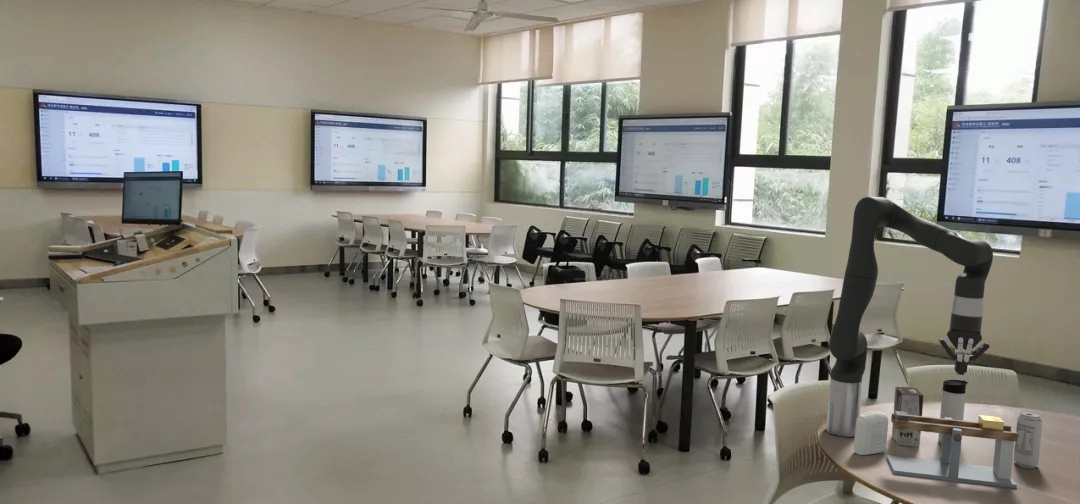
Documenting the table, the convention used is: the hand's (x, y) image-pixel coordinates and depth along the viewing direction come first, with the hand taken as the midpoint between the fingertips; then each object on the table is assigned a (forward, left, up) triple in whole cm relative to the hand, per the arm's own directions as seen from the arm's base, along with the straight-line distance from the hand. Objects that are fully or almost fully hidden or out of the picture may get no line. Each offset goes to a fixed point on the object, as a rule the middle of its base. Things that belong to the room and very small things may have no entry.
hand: (960, 374), depth 215 cm
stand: (-2, -4, -27) cm, 28 cm away
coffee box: (-9, +20, -28) cm, 35 cm away
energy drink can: (+21, +10, -27) cm, 36 cm away
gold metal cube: (+8, -4, -14) cm, 17 cm away
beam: (-2, -4, -15) cm, 16 cm away
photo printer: (-21, +6, -28) cm, 35 cm away
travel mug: (+4, +22, -27) cm, 36 cm away
